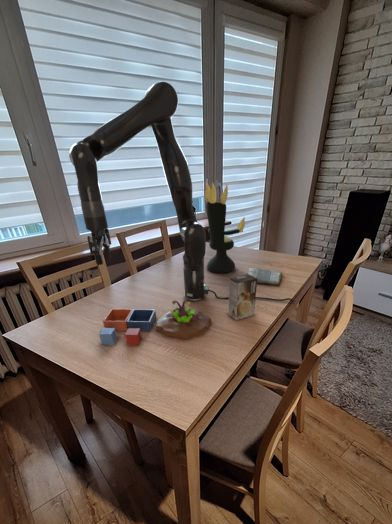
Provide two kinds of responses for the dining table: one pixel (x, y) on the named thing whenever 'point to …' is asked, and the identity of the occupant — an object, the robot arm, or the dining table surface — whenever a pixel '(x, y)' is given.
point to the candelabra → (219, 231)
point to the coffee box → (242, 296)
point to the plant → (183, 322)
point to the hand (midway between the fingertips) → (104, 260)
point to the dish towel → (266, 276)
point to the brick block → (133, 336)
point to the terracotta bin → (117, 319)
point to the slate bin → (142, 319)
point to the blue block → (108, 336)
